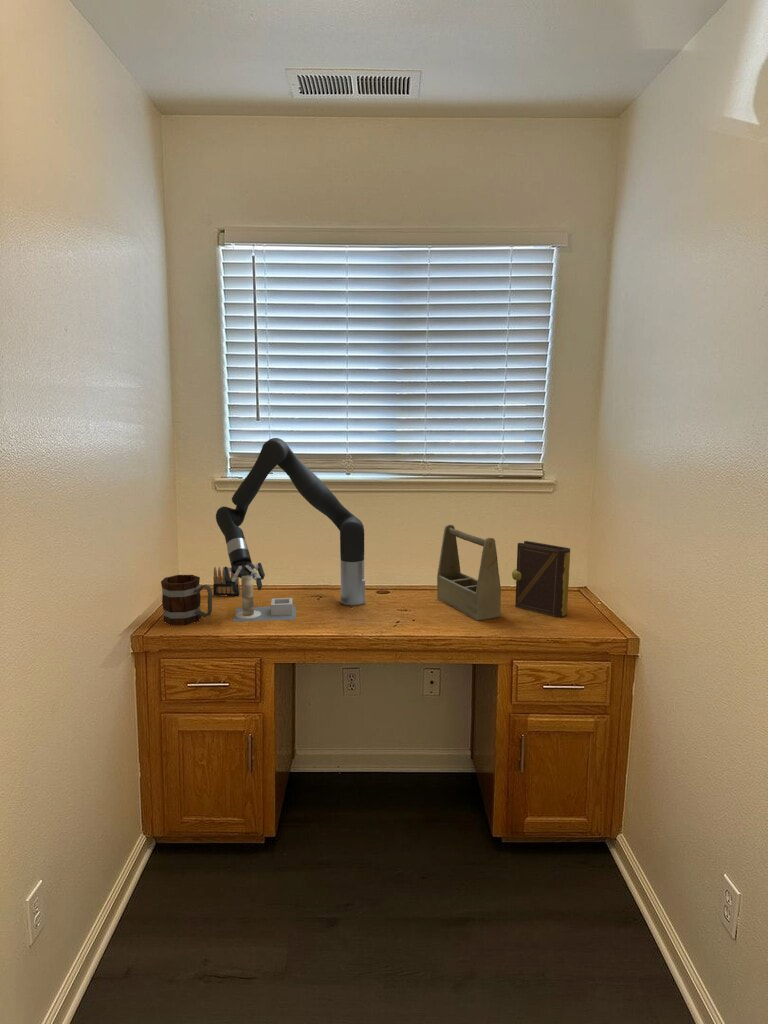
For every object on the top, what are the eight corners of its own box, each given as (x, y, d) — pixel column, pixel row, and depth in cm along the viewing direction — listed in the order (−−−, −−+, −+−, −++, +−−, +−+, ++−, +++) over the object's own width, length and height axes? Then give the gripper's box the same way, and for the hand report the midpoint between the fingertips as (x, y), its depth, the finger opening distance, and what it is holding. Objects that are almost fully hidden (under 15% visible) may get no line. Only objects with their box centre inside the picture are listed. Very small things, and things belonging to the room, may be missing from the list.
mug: (154, 623, 235) (152, 582, 232) (178, 611, 247) (176, 573, 245) (201, 629, 228) (199, 588, 226) (223, 617, 241) (222, 577, 238)
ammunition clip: (240, 595, 268) (239, 566, 266) (239, 596, 266) (238, 567, 264) (214, 594, 269) (213, 566, 267) (213, 596, 267) (211, 567, 265)
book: (570, 613, 245) (573, 548, 241) (559, 619, 239) (562, 552, 235) (518, 601, 260) (521, 539, 256) (507, 606, 254) (509, 542, 250)
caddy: (436, 599, 263) (437, 525, 258) (459, 595, 267) (460, 523, 262) (476, 621, 237) (478, 539, 232) (501, 617, 241) (503, 537, 236)
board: (296, 609, 250) (295, 595, 249) (295, 623, 235) (295, 608, 234) (237, 611, 248) (236, 597, 247) (232, 625, 232) (232, 610, 231)
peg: (254, 612, 241) (253, 575, 239) (253, 615, 237) (252, 578, 235) (243, 612, 241) (241, 575, 238) (242, 616, 237) (240, 578, 234)
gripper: (220, 549, 239) (230, 588, 231) (259, 545, 245) (269, 583, 237) (218, 560, 244) (227, 598, 236) (255, 556, 251) (265, 593, 243)
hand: (248, 590), depth 237 cm, fingers open, 8 cm apart
